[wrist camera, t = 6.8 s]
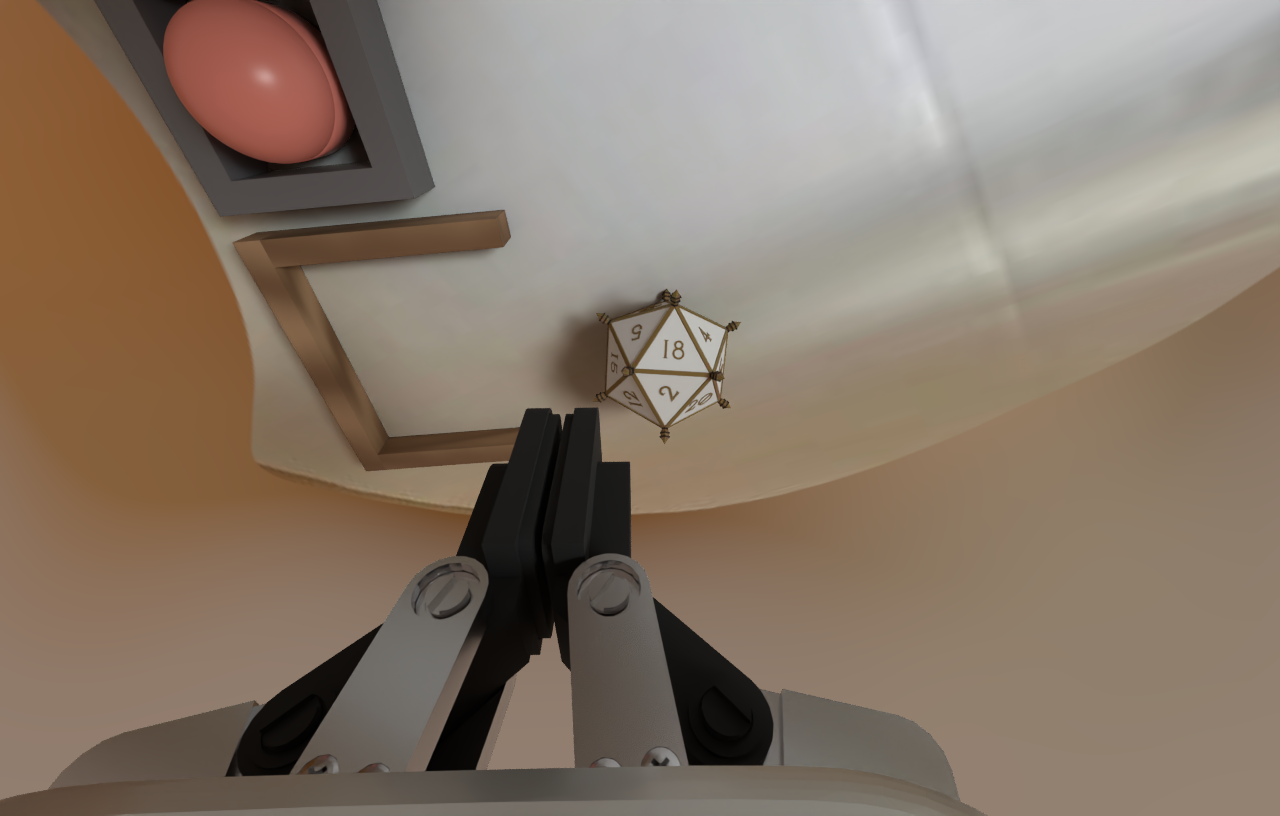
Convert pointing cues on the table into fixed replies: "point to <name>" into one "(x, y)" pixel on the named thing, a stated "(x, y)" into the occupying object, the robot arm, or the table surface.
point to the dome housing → (245, 185)
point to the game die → (665, 362)
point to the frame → (320, 350)
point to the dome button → (257, 79)
